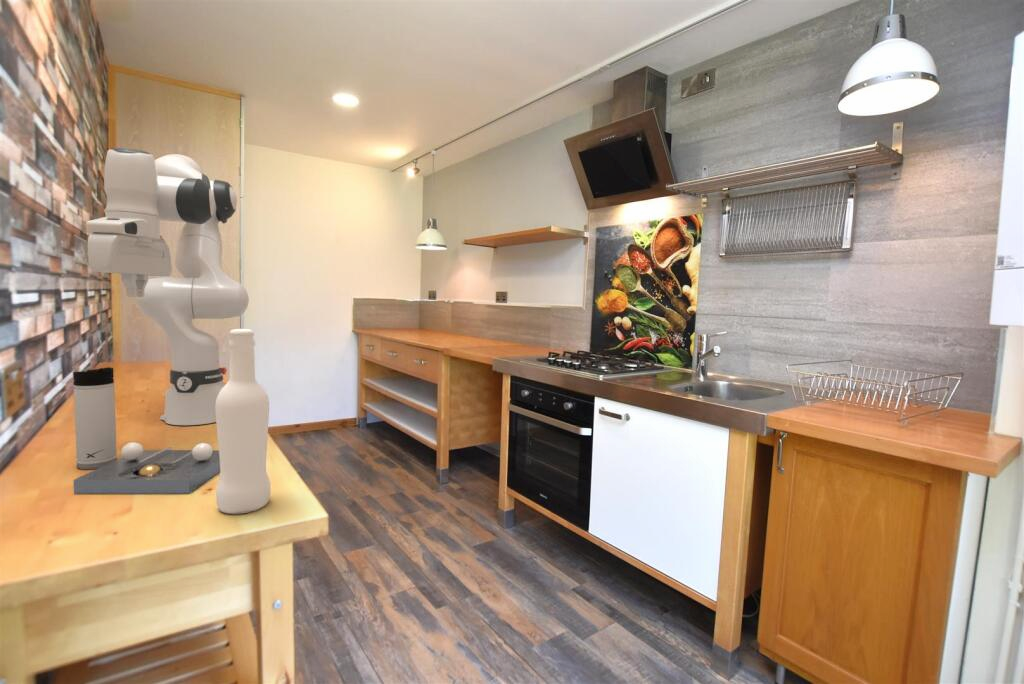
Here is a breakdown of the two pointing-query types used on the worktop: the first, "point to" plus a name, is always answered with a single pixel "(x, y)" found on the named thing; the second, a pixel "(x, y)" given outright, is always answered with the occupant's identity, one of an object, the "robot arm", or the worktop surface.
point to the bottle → (242, 432)
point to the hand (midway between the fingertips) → (135, 296)
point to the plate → (173, 478)
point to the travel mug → (95, 418)
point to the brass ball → (149, 470)
